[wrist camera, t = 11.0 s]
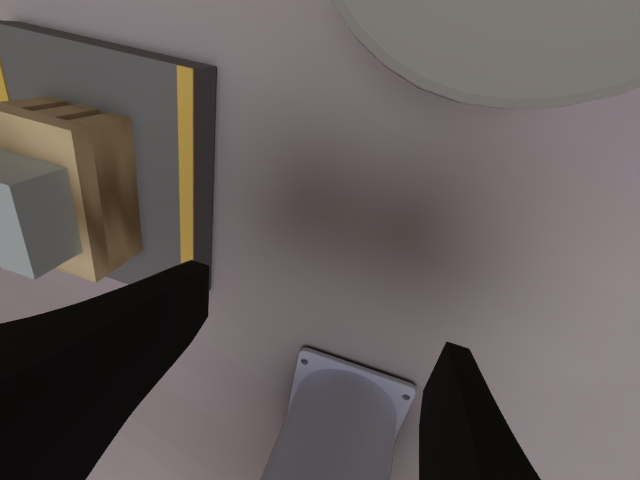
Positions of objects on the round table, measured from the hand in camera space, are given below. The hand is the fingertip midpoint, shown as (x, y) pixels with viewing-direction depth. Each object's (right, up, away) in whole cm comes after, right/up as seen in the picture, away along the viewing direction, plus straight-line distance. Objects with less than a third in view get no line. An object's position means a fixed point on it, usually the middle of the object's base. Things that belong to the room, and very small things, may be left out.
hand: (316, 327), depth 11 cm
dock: (-12, +7, +12) cm, 18 cm away
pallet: (-12, +6, +10) cm, 17 cm away
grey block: (-13, +4, +7) cm, 16 cm away
